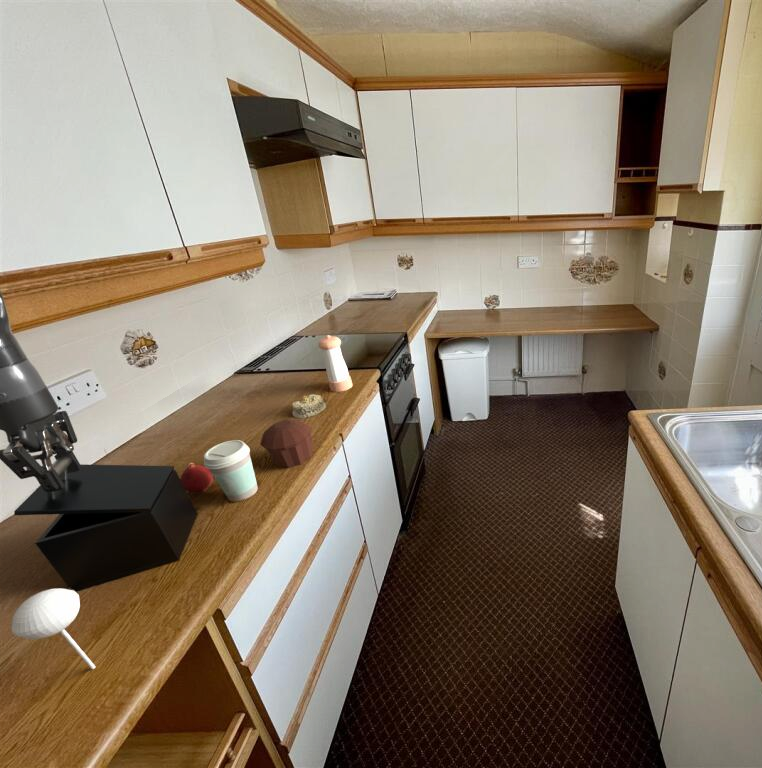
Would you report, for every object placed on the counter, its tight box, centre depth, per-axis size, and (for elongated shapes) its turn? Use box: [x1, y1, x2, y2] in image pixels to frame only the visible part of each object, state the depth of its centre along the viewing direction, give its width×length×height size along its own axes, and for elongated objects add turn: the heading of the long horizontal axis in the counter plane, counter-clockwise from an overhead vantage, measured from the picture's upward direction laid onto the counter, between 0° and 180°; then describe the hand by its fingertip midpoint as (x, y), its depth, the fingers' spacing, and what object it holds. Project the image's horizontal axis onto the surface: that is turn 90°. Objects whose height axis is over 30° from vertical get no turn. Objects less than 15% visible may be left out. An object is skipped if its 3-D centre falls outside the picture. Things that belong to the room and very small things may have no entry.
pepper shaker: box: [318, 334, 353, 393], centre depth 138 cm, size 7×7×19 cm
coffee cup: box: [203, 439, 259, 502], centre depth 90 cm, size 8×8×12 cm
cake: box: [291, 393, 327, 419], centre depth 127 cm, size 10×10×5 cm
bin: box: [34, 469, 199, 593], centre depth 77 cm, size 16×14×12 cm
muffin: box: [259, 419, 314, 469], centre depth 102 cm, size 12×11×10 cm
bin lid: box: [13, 456, 175, 516], centre depth 72 cm, size 16×14×5 cm
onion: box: [180, 462, 214, 494], centre depth 92 cm, size 6×6×8 cm
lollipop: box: [10, 587, 97, 671], centre depth 56 cm, size 6×6×15 cm
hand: (64, 480), depth 70 cm, fingers closed on bin lid, 5 cm apart
